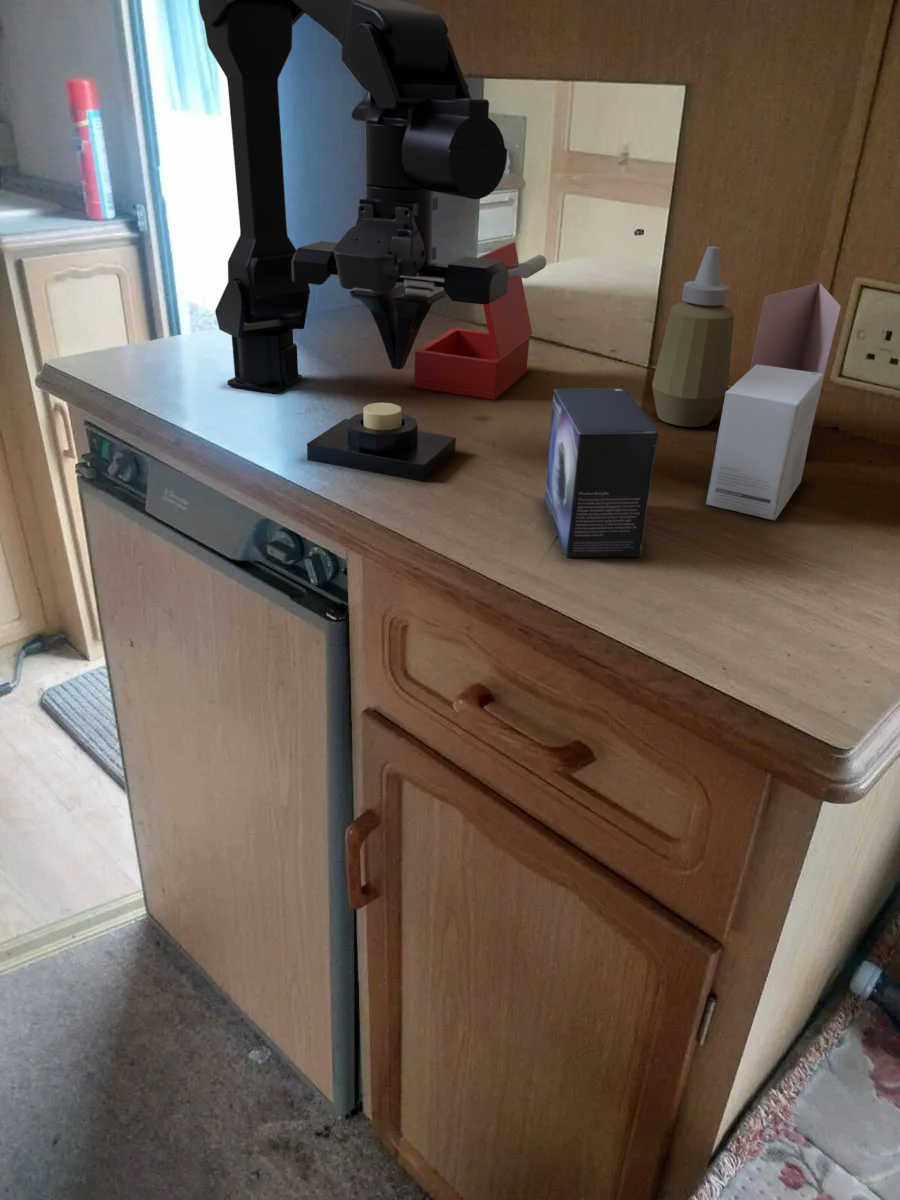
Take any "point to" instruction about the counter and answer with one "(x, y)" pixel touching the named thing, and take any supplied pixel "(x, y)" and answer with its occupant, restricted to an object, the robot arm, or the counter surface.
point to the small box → (599, 471)
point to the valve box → (468, 365)
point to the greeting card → (797, 329)
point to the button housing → (383, 449)
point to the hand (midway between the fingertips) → (398, 368)
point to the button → (382, 416)
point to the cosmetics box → (763, 440)
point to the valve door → (510, 302)
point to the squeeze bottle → (696, 350)
